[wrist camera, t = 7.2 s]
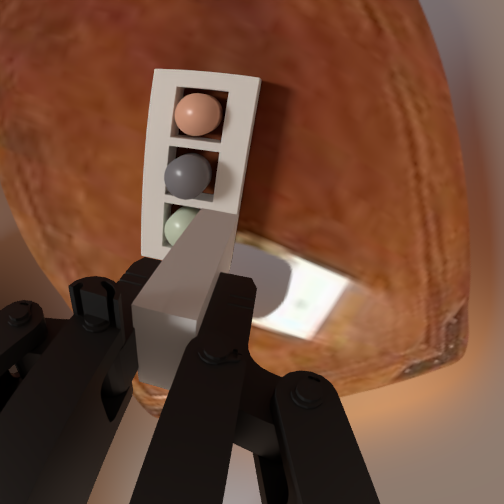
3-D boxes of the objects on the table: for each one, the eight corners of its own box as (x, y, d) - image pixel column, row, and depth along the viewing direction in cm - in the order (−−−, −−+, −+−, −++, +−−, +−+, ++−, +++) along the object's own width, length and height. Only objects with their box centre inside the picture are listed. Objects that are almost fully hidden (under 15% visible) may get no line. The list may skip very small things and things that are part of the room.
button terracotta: (185, 92, 32) (177, 91, 30) (225, 96, 32) (220, 95, 30) (180, 131, 35) (172, 133, 32) (219, 136, 35) (214, 138, 32)
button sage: (173, 202, 39) (165, 210, 36) (209, 209, 39) (204, 217, 36) (171, 236, 41) (163, 246, 38) (205, 243, 41) (200, 253, 38)
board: (164, 71, 32) (154, 69, 30) (261, 80, 32) (259, 77, 29) (149, 245, 43) (141, 255, 40) (231, 262, 43) (227, 273, 40)
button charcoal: (175, 150, 34) (166, 154, 32) (214, 155, 34) (208, 160, 32) (171, 189, 37) (162, 196, 34) (209, 195, 36) (203, 202, 34)
